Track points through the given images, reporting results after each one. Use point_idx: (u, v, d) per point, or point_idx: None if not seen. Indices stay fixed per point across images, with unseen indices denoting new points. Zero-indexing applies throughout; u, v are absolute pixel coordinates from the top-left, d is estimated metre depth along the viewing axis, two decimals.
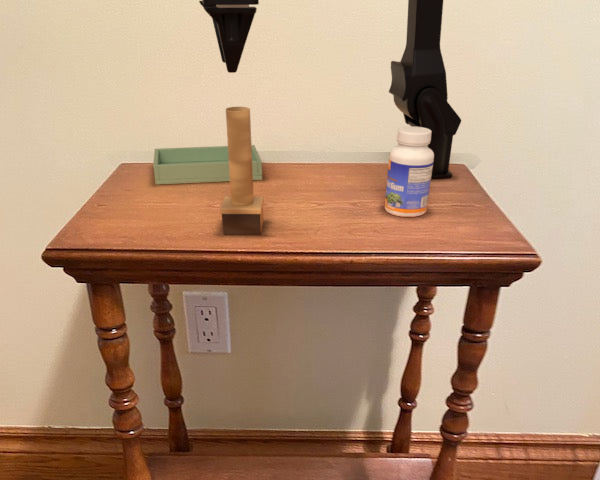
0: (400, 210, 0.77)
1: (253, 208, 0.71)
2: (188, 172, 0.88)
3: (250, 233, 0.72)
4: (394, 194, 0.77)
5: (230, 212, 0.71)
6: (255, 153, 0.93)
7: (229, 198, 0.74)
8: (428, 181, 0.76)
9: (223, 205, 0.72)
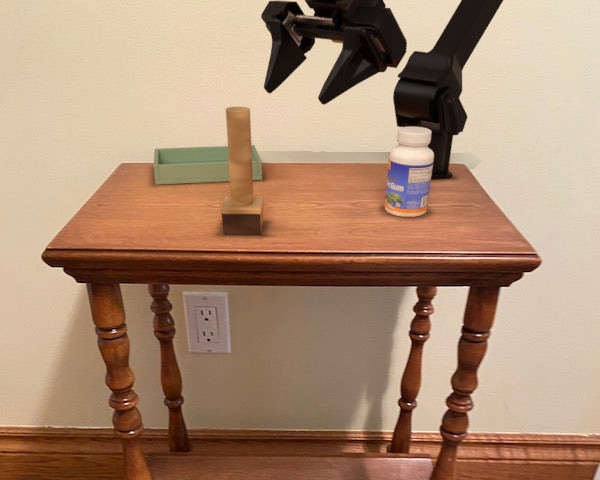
0: (400, 210, 0.77)
1: (253, 208, 0.71)
2: (188, 172, 0.88)
3: (250, 233, 0.72)
4: (394, 194, 0.77)
5: (230, 212, 0.71)
6: (255, 153, 0.93)
7: (229, 198, 0.74)
8: (428, 181, 0.76)
9: (223, 205, 0.72)
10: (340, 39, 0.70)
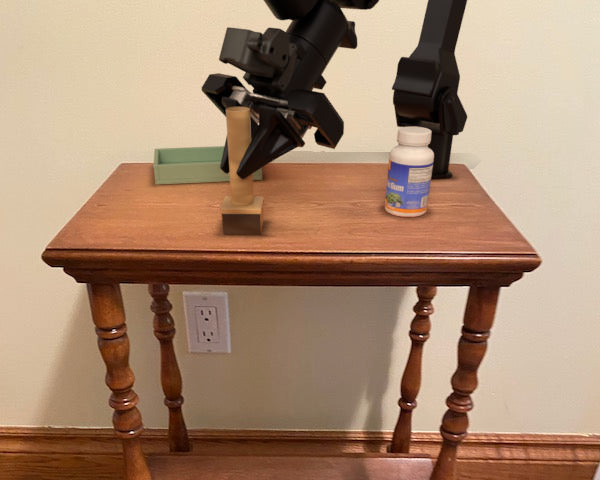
0: (400, 210, 0.77)
1: (253, 208, 0.71)
2: (188, 172, 0.88)
3: (250, 233, 0.72)
4: (394, 194, 0.77)
5: (230, 212, 0.71)
6: None
7: (229, 198, 0.74)
8: (428, 181, 0.76)
9: (223, 205, 0.72)
10: None
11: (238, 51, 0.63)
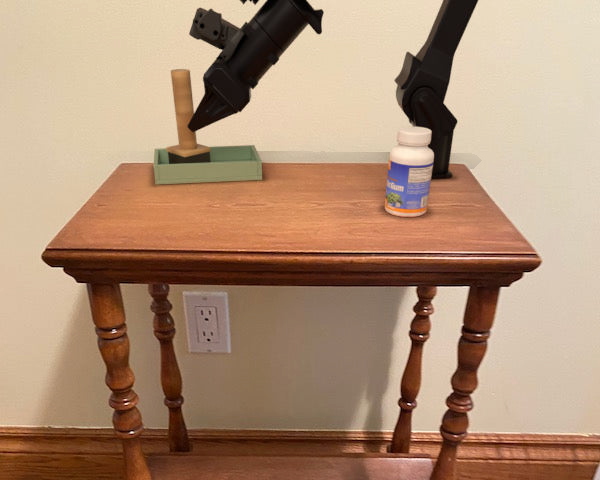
0: (400, 210, 0.77)
1: (182, 151, 0.89)
2: (188, 172, 0.88)
3: None
4: (394, 194, 0.77)
5: (170, 151, 0.91)
6: (255, 153, 0.93)
7: None
8: (428, 181, 0.76)
9: (172, 146, 0.92)
10: None
11: None
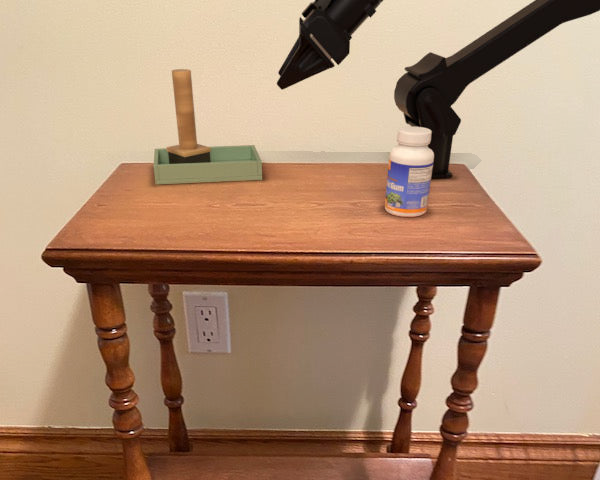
0: (400, 210, 0.77)
1: (182, 151, 0.89)
2: (188, 172, 0.88)
3: None
4: (394, 194, 0.77)
5: (171, 151, 0.91)
6: (255, 153, 0.93)
7: None
8: (428, 181, 0.76)
9: (172, 146, 0.92)
10: None
11: None
